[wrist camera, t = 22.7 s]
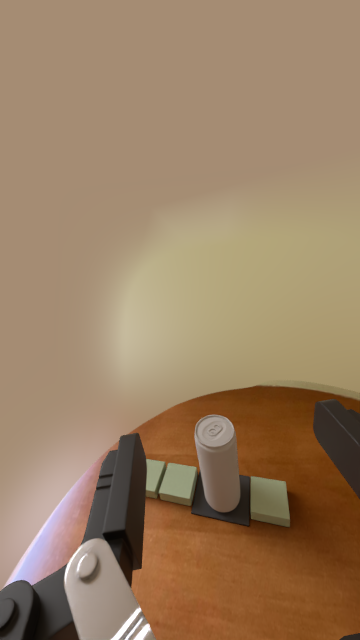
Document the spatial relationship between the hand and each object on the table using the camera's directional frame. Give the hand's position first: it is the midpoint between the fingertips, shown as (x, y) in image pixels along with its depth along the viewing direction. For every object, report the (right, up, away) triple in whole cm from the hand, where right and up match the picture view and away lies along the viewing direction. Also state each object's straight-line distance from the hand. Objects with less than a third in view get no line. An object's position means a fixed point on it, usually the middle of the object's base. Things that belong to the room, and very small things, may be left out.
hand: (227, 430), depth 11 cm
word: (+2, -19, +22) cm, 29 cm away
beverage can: (+4, -19, +22) cm, 29 cm away
